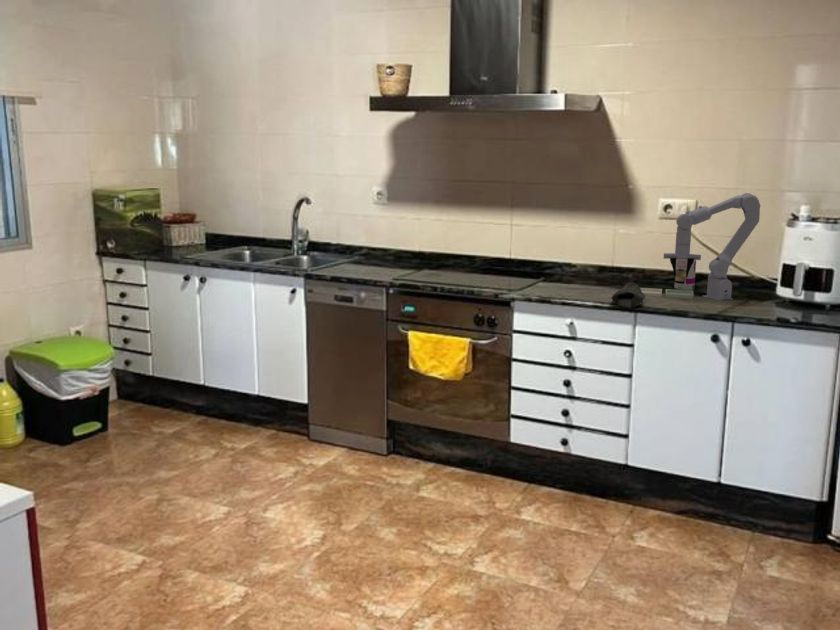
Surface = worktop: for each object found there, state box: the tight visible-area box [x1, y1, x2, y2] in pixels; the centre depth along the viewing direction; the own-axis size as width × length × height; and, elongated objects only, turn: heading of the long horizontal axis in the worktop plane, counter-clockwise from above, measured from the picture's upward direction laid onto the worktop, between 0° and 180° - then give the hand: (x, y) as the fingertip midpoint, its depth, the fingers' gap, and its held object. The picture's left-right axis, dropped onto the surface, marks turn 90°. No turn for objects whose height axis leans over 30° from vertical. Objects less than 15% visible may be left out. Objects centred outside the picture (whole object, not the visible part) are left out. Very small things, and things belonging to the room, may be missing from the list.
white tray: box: [640, 287, 663, 298], centre depth 344 cm, size 11×11×2 cm
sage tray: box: [665, 288, 695, 300], centre depth 341 cm, size 11×11×2 cm
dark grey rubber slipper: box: [611, 281, 646, 309], centre depth 330 cm, size 13×7×25 cm
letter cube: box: [674, 269, 686, 282], centre depth 339 cm, size 4×4×4 cm
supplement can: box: [674, 257, 697, 291], centre depth 354 cm, size 8×8×15 cm
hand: (680, 276), depth 339 cm, fingers closed on letter cube, 4 cm apart
